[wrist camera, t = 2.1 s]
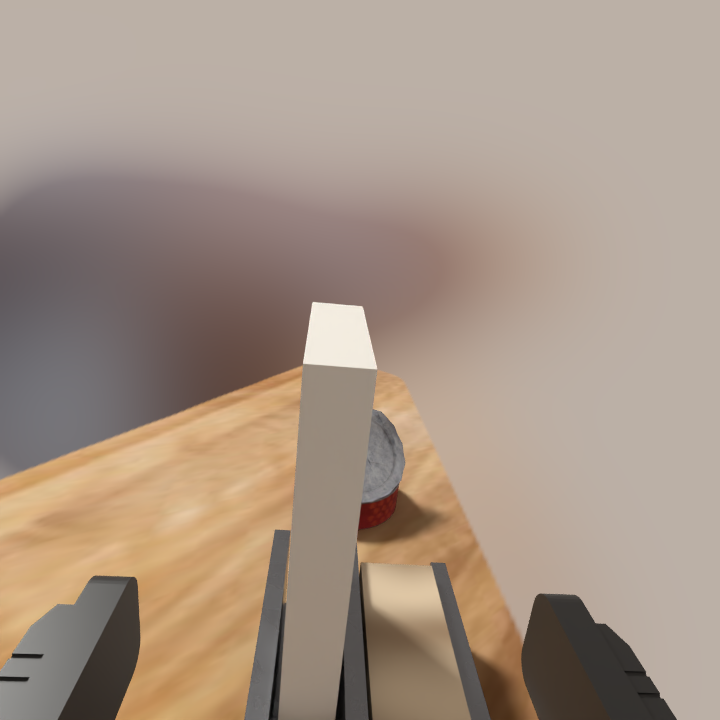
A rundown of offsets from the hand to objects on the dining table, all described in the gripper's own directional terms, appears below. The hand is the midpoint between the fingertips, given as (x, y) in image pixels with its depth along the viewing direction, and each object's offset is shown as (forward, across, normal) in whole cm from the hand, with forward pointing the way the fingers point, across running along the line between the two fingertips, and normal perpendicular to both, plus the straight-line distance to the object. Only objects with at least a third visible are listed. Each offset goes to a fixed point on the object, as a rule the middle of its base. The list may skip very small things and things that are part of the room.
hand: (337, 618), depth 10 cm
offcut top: (+13, -5, +17) cm, 22 cm away
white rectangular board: (+13, 0, +19) cm, 23 cm away
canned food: (+36, -3, +21) cm, 41 cm away
